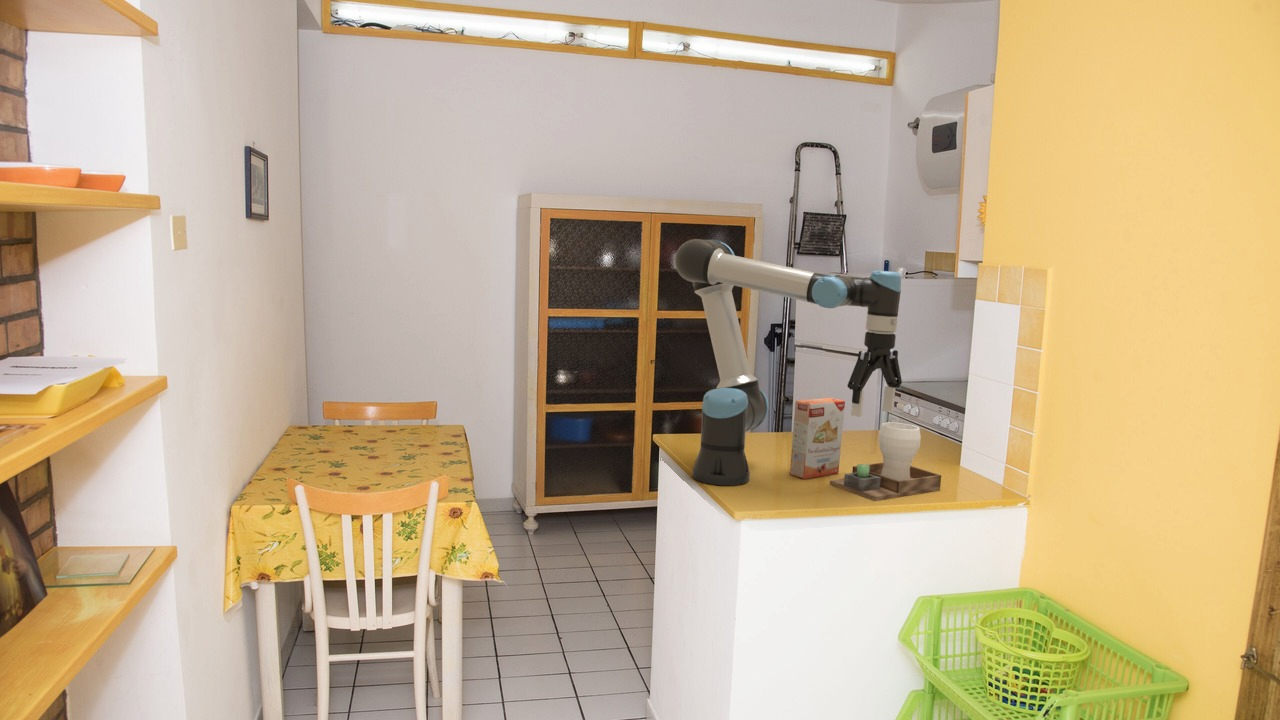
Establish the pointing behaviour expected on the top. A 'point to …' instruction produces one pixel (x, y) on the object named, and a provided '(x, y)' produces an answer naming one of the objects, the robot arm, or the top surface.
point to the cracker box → (817, 437)
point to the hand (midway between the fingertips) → (872, 413)
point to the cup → (898, 449)
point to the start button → (863, 470)
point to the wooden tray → (888, 483)
